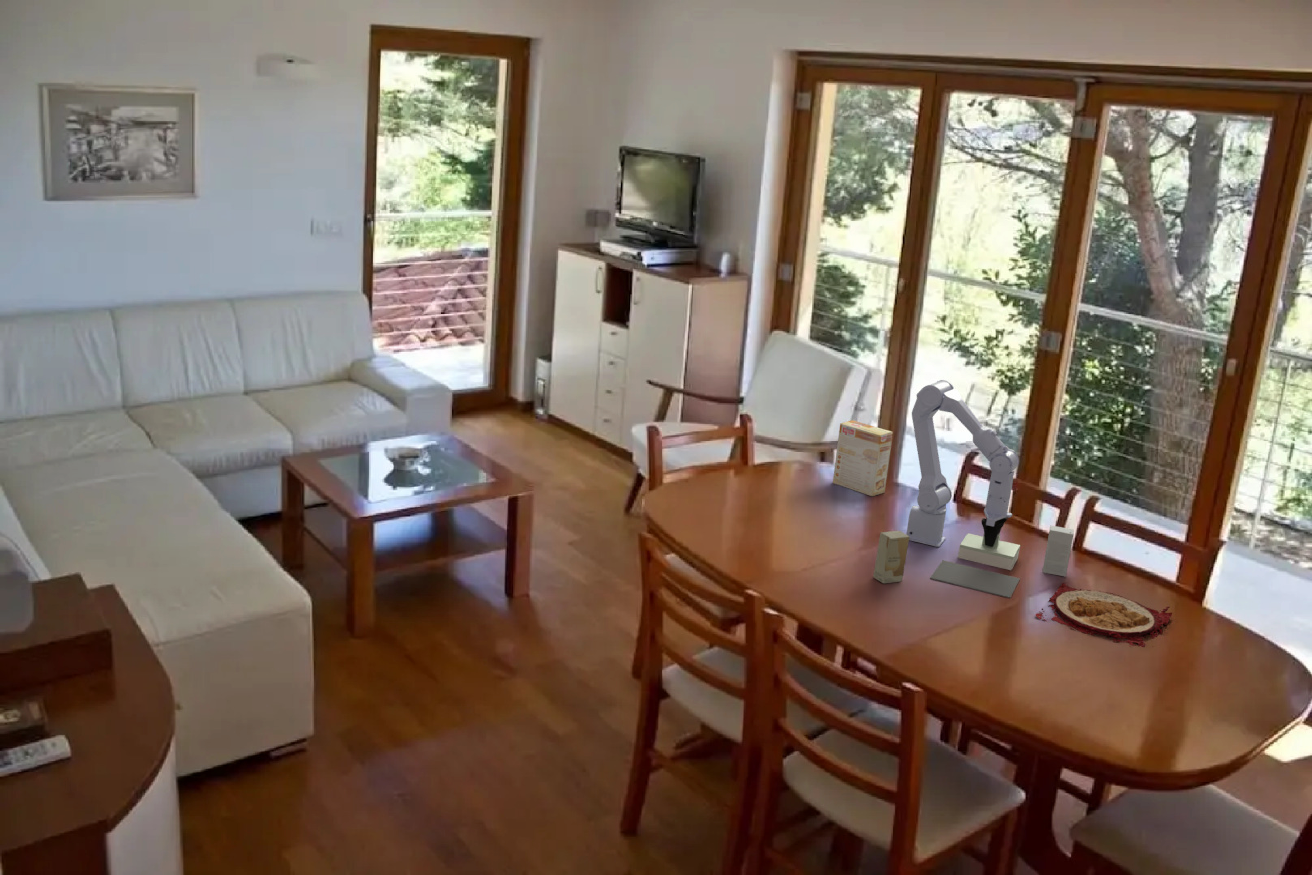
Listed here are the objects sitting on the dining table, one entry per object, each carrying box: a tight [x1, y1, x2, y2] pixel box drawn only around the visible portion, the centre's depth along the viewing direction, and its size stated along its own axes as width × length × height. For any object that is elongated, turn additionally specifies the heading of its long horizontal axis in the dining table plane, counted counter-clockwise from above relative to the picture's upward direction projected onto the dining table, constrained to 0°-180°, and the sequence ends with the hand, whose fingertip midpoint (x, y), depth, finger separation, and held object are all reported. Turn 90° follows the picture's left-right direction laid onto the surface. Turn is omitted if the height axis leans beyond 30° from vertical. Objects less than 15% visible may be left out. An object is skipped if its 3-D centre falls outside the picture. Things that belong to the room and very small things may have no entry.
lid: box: [959, 532, 1021, 560], centre depth 322 cm, size 14×10×5 cm
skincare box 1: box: [872, 530, 910, 584], centre depth 302 cm, size 6×4×12 cm
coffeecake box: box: [832, 419, 894, 497], centre depth 368 cm, size 15×7×20 cm, turn 46°
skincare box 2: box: [1042, 525, 1075, 577], centre depth 316 cm, size 6×4×12 cm
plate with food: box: [1035, 582, 1173, 648], centre depth 291 cm, size 25×26×4 cm
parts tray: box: [957, 547, 1021, 571], centre depth 323 cm, size 14×10×3 cm
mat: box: [929, 559, 1021, 599], centre depth 308 cm, size 20×14×1 cm
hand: (990, 543), depth 322 cm, fingers open, 3 cm apart
